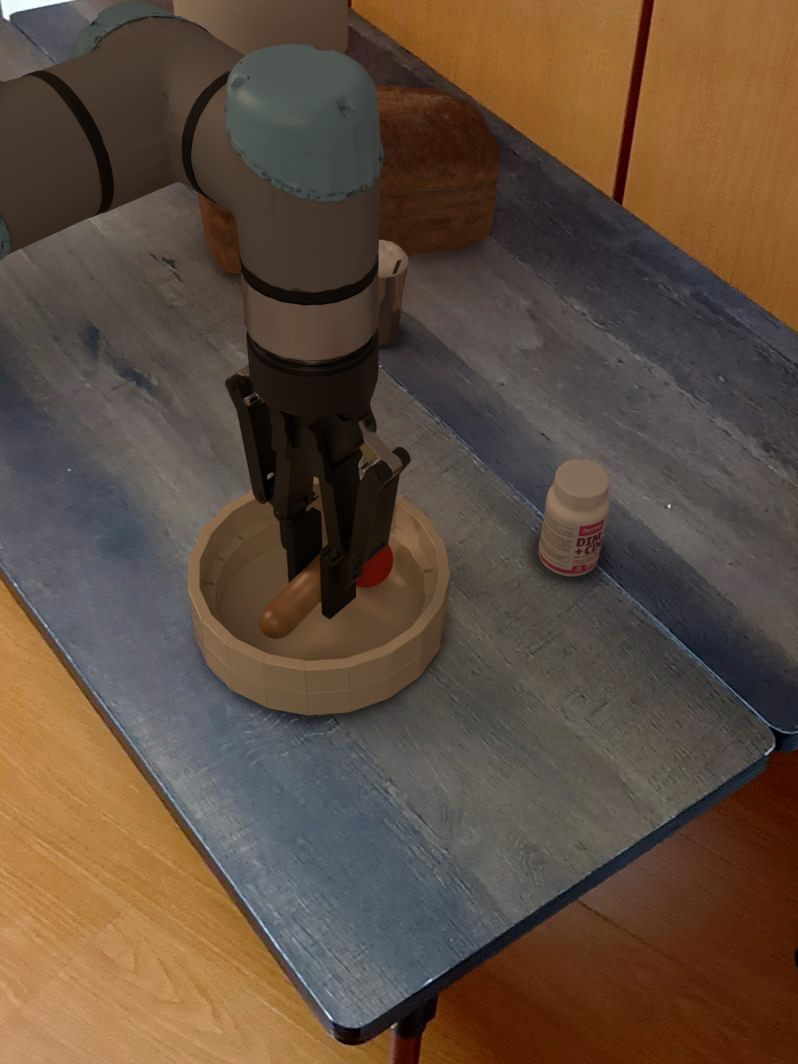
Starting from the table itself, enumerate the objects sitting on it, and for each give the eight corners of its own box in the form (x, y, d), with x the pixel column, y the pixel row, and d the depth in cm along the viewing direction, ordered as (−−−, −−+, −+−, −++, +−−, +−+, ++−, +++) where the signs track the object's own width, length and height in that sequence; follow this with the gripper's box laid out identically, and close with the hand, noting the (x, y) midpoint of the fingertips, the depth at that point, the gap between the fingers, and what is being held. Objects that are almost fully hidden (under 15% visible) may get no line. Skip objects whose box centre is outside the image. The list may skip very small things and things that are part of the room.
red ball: (325, 535, 94) (345, 538, 98) (333, 590, 93) (352, 592, 97) (378, 525, 93) (396, 529, 97) (386, 582, 93) (404, 583, 97)
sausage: (358, 503, 93) (379, 510, 92) (372, 527, 95) (394, 535, 93) (245, 617, 89) (266, 627, 87) (263, 640, 90) (283, 650, 88)
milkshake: (374, 362, 115) (375, 266, 107) (345, 327, 118) (344, 232, 110) (419, 347, 117) (423, 252, 109) (390, 313, 120) (392, 219, 112)
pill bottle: (578, 588, 99) (593, 510, 93) (525, 559, 101) (536, 481, 95) (610, 551, 102) (626, 473, 96) (559, 523, 104) (571, 445, 98)
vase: (176, 84, 143) (150, -151, 125) (331, 75, 148) (327, -153, 130) (196, 168, 132) (172, -76, 115) (363, 156, 137) (364, -80, 119)
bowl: (194, 733, 87) (186, 678, 83) (196, 538, 99) (189, 481, 95) (458, 712, 90) (464, 659, 86) (431, 526, 102) (434, 470, 98)
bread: (188, 221, 126) (173, 81, 116) (467, 188, 135) (475, 56, 124) (213, 296, 119) (199, 153, 108) (506, 256, 127) (518, 121, 117)
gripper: (459, 354, 75) (442, 619, 92) (261, 244, 80) (279, 513, 97) (371, 420, 70) (370, 685, 87) (167, 298, 76) (204, 570, 93)
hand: (322, 594), depth 92 cm, fingers closed on sausage, 2 cm apart
